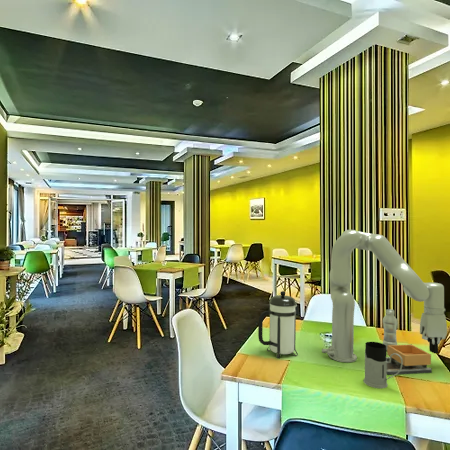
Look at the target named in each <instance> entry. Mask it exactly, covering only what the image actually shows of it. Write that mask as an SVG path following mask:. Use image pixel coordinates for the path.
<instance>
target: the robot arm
mask: <svg viewBox="0 0 450 450" xmlns="http://www.w3.org/2000/svg"><path fill="white" fill-rule="evenodd" d="M331 249H332V250H331V269H330V271H329V289H330V299H331V302H332V312H331V313H332V315H331V345H329V347H327V348H322V349H321V353H323V354H327V355H328V357H329V358H330V359H331V360H333V361H336V362H341V363H355V362H356V361H357V360H358V356H357V354H355V353H354V340H355V339H354V336H355V335H354V334H355V333H354V332H355V331H354V329H355V326H354V324H355V323H354V322H355V321H354V320H355V319H354V318H355V317H354V316H355V309H356V308H355V307H356V306H355V305H356V302H355V298H354V295H353V294H352V293H351V283H352V280H353V274H352V273H353V272H352V253H353V251H354V250H355V249H358V250H363V251H369V252H372V254H373V255H374V256H375V258H377V260H378V261H379V263H380V264H381V265H382V267H384V269H385V270H386V271H387V272H388V273H389V274H390V275H391V276H392V277H394V278H395V279H396V280H397V281H398V282H399V283H400V284H401V285H402V286H403V292H404V294H405V295H406V296H407V297H409V298H411V299H412V300H414V301H416V302H419V303H420V302H423V312H422V313H421V315H420V316H421V317H420V323H419V334H420V335H421V339H423V340H424V341H427V342H428V343H429V344H428V345H429V348H428V349H429V352H431V353H432V354H439V345H440V343H441V341H442V340H445V339H446V338H447V335H448V334H447V333H448V327H447V318H446V315H445V312H446V308H445V286H444V285H443V284H442V283H440V282H439V283H438V282H424V281H423V280H422V279H421V277H420V276H419V275H418V274H417V273H416V272H415V270H413V268H412V267H411V266H410V265H409V264H408V263H407V262H406V261H405V259H404V258H403V257H402V256H401V254H399V252H398V251H397V250H396V249H395V248H394V246H393V245H392V244H391V242H390V241H389V240H388V238H387V237H385V236H384V235H382V234H379V233H378V234H376V233H369V232H363V231H360V230H359V231H358V230H355V229H346V230H345V231H343V232H342V233H341V235H340V236H339V237H338V238H337V239H336V240H335V241H334V243H333V246H332V248H331Z"/></svg>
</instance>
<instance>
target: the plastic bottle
mask: <svg viewBox="0 0 450 450" xmlns="http://www.w3.org/2000/svg"><path fill="white" fill-rule="evenodd" d="M395 315H396V314H395V310H394V309H391V308H388V309H386V310H385V316H384V317H383V319H382V324H383V341H382V344H384V345H386V351H387V345H398V341H397V328H398V327H397V326H398V319H397V318H396V316H395Z"/></svg>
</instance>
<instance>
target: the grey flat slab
mask: <svg viewBox="0 0 450 450" xmlns="http://www.w3.org/2000/svg"><path fill="white" fill-rule="evenodd" d="M386 359H387V362H389V361H390V356H388V357H387V356H386ZM400 367H401V363H400V362H398V361H396V360H393V359H391V362H390V363H387V375H388V376H389V375H390V376H393V375H395V374H396V373H397V372H398V371H399V370H400ZM432 369H433V368H432V367H428V366H427V367H426V368H424V367H422V366H421V365H413V366H410V367H409V368H405V367H404V365H403V364H402V369H401V371H400V372H399V373H398V374H397V375H410V374H432V372H433V370H432ZM395 376H396V375H395Z"/></svg>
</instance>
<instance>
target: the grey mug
mask: <svg viewBox="0 0 450 450" xmlns="http://www.w3.org/2000/svg"><path fill="white" fill-rule="evenodd" d="M364 349H365V350H364V378H363V383H364V384H365V385H366V386H368V387H371V388H374V389H386V388H388V386H389V384H388V380H389V379H391V378H394V377H395V376H398V375H399V374H398V373H399V372H400V371H401V369H402V364H403V361H402V357H401V356H400V355H399V354H396V353H393V354H392V355H394V354H396V355H398V356H399V357H400V358H401V367H400V370H399V371H398V372H397V373H396V374H395V375H390V376H389V377H387V363H390V362H391V357H392V355H391V356H389V357H390V361H389V362H387V359H386V357H387V350H386V345H384V344H383V342H378V341H366V342H365V348H364Z"/></svg>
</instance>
